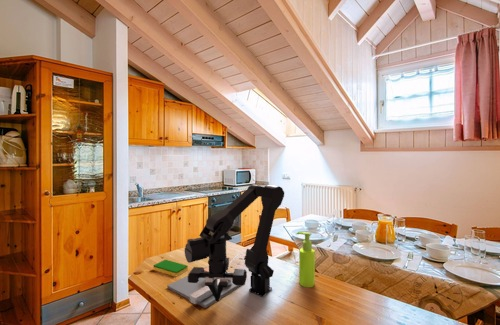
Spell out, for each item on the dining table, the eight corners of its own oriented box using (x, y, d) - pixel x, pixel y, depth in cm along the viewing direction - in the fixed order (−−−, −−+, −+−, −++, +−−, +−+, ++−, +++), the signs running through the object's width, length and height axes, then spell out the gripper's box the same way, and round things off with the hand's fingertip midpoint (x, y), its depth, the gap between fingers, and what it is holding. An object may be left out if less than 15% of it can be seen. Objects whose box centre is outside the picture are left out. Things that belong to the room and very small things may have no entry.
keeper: (224, 274, 107) (224, 264, 106) (209, 283, 100) (209, 272, 100) (217, 271, 109) (217, 262, 109) (202, 279, 102) (202, 269, 102)
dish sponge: (176, 277, 107) (176, 272, 107) (152, 270, 114) (152, 265, 114) (188, 270, 113) (188, 265, 113) (165, 264, 120) (165, 259, 120)
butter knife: (244, 254, 130) (239, 252, 131) (214, 278, 106) (208, 276, 107) (244, 255, 130) (239, 253, 131) (214, 280, 106) (208, 278, 107)
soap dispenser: (299, 277, 106) (300, 229, 105) (316, 282, 102) (316, 231, 102) (294, 284, 101) (294, 233, 100) (311, 288, 97) (312, 236, 96)
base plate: (243, 283, 101) (243, 281, 101) (205, 308, 85) (205, 305, 85) (206, 268, 114) (206, 266, 114) (167, 288, 98) (167, 285, 98)
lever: (225, 278, 102) (225, 270, 102) (234, 282, 99) (234, 274, 99) (187, 300, 88) (187, 291, 88) (197, 305, 85) (197, 296, 85)
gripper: (248, 246, 92) (248, 289, 93) (197, 244, 94) (197, 286, 95) (244, 259, 81) (244, 308, 82) (186, 257, 83) (187, 304, 84)
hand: (217, 301), depth 86 cm, fingers closed
